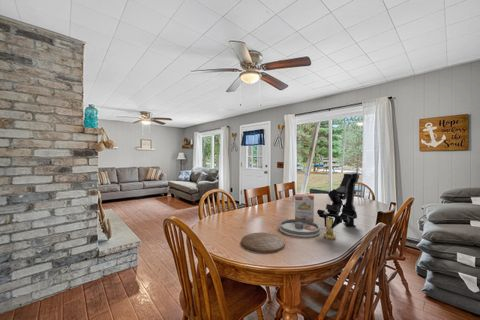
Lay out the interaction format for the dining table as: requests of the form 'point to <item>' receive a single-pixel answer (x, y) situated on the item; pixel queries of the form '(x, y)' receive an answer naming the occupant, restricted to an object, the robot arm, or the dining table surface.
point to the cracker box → (304, 207)
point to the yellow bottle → (329, 229)
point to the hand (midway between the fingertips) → (328, 227)
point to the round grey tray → (299, 228)
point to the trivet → (263, 242)
